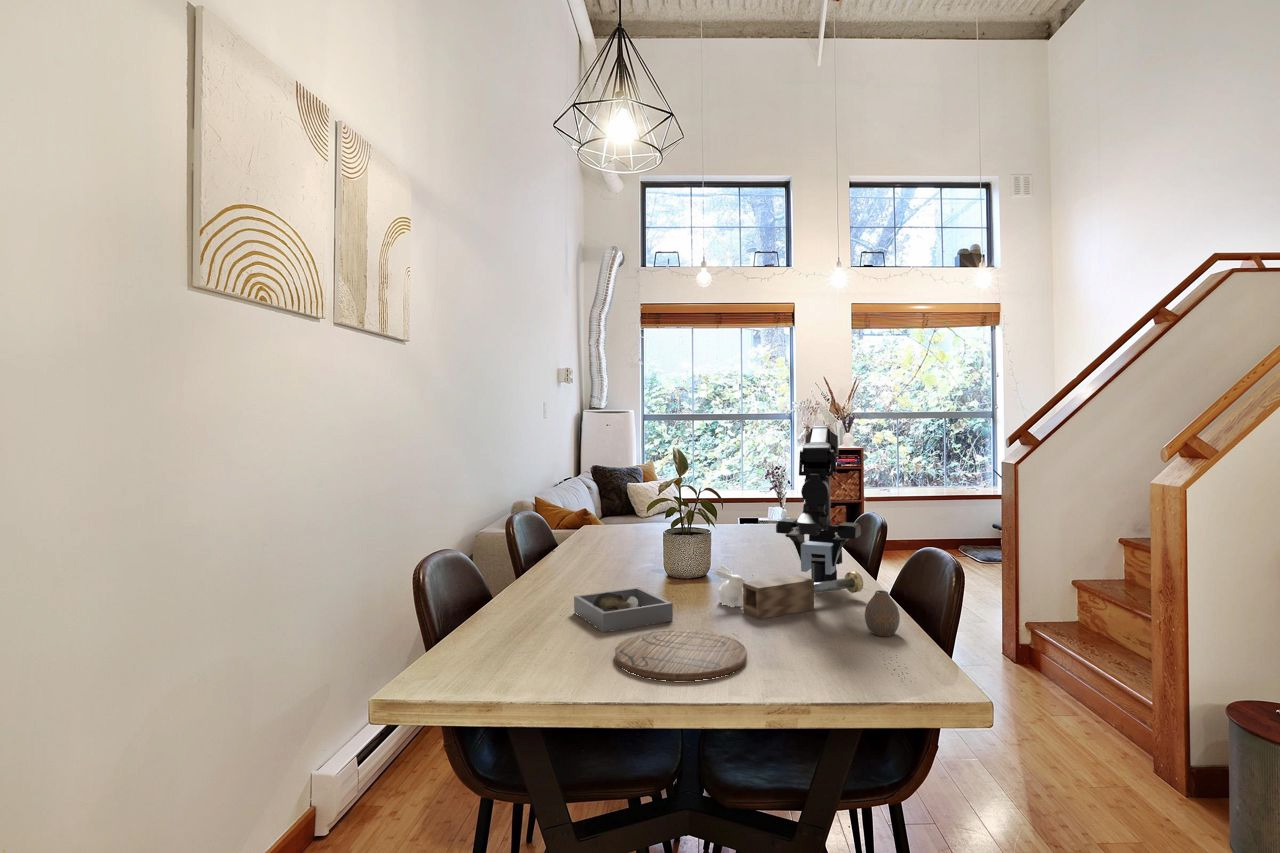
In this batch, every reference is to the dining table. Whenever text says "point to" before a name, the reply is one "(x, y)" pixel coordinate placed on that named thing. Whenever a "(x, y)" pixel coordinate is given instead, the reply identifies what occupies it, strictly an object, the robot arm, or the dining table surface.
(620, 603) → the eagle figurine
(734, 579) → the rabbit figurine
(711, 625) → the dining table surface
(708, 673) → the trivet
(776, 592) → the block
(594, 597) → the tray rim
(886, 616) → the vase
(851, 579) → the shaft
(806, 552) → the spacer
